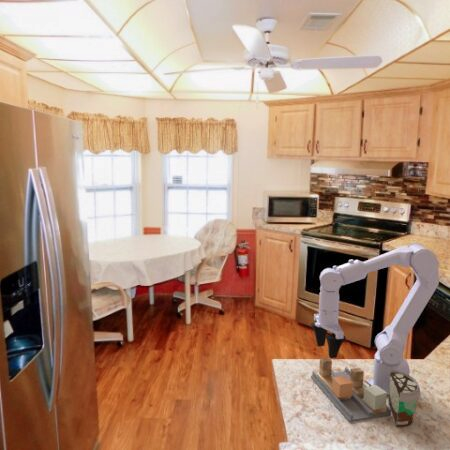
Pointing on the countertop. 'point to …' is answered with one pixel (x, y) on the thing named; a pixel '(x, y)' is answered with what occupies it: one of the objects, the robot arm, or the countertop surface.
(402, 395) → the food container
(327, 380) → the oak strip
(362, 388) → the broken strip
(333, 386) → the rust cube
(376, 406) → the sage block
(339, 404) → the lane board
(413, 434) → the countertop surface
